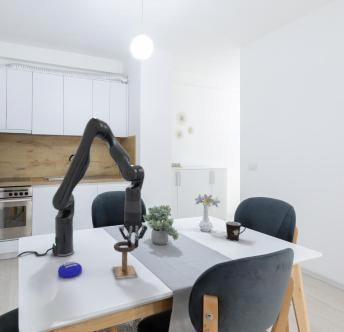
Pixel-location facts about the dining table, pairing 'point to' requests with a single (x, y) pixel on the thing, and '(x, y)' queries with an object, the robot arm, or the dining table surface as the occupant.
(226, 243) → the dining table surface
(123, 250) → the ring
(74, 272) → the decorative object
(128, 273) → the post
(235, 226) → the coffee mug
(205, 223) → the flower vase
